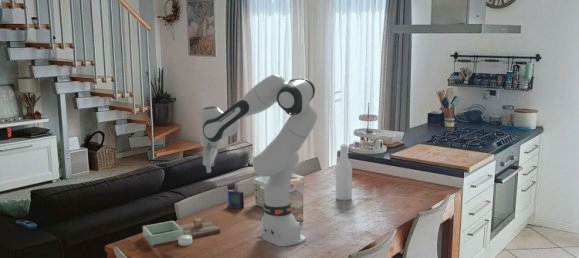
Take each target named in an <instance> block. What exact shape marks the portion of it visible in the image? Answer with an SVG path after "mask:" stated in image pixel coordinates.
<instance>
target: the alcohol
mask: <svg viewBox="0 0 579 258" xmlns="http://www.w3.org/2000/svg"><path fill="white" fill-rule="evenodd" d="M348 146H349V145H348V144H343V143H342V144H340V151H339V152H340V153H339V161H338V163H336V166H335V198H336V199H337V200H338V201H350V200H351V199H352V197H353V190H352V189H353V166H352V164H351V163H350V161H349V150H348V148H349V147H348Z"/></svg>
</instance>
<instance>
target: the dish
mask: <svg viewBox="0 0 579 258" xmlns="http://www.w3.org/2000/svg"><path fill="white" fill-rule="evenodd" d="M179 225H180V224H178V223H176V221H174V220H169V221H165V222H159V223H153V224H147V225H142V238H143V239H144V240H145V241H146V242H147V243H148V244H149V246H150V247H151V248H155V245H158V244H159V245H160V244H164V243H169V242H175V241H178V237H179V236H181V235H184V234H183V229H182V228H181V227H180V226H179Z"/></svg>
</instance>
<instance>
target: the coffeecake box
mask: <svg viewBox="0 0 579 258" xmlns="http://www.w3.org/2000/svg"><path fill="white" fill-rule="evenodd" d="M289 202H290V205H291V208H292V209H291V210H292V214H293V216H294V217H295V219H296V221H297V222H302V221H304V187H303V181H302V180H301V179H292V178H291V181H290V188H289Z"/></svg>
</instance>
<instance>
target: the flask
mask: <svg viewBox="0 0 579 258" xmlns="http://www.w3.org/2000/svg"><path fill="white" fill-rule="evenodd" d="M244 201H245V200H244V191H243V190H241V189H240V190H239V189H238V186H237V187H234V188H233V189H229V190H227V207H228V208H232V209H240V210H243V209H245V203H244Z"/></svg>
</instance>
